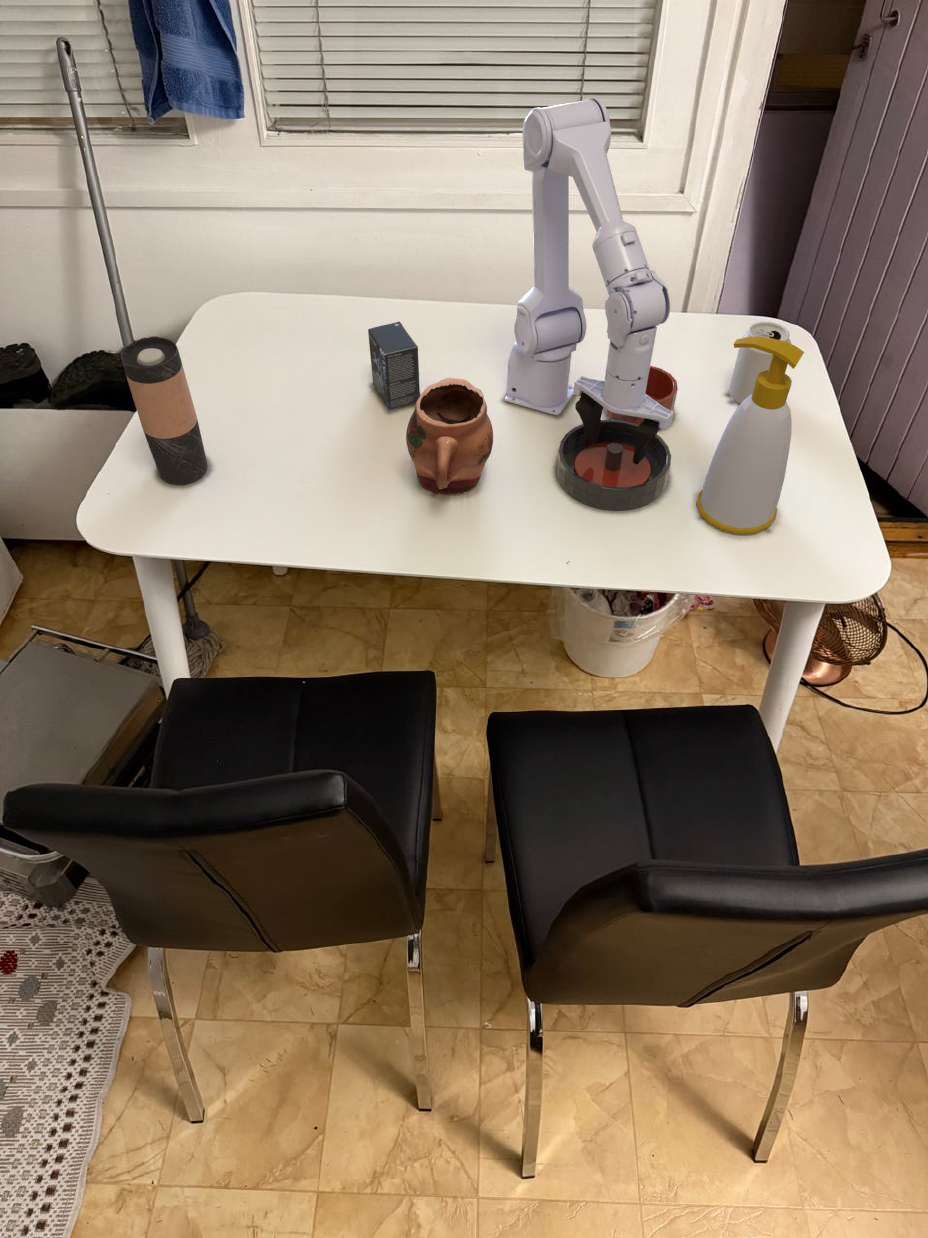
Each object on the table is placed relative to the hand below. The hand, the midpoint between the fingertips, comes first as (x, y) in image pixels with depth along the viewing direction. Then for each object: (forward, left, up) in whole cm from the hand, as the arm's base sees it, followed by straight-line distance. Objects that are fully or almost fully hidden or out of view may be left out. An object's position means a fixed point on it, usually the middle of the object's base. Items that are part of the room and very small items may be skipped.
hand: (615, 450), depth 133 cm
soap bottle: (+19, 0, -5) cm, 19 cm away
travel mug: (-57, -28, -5) cm, 64 cm away
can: (+14, +28, -5) cm, 32 cm away
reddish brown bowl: (-1, +16, -4) cm, 17 cm away
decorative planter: (-20, -13, -5) cm, 24 cm away
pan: (0, 0, -4) cm, 4 cm away
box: (-38, +3, -5) cm, 39 cm away
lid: (0, 0, -3) cm, 3 cm away
